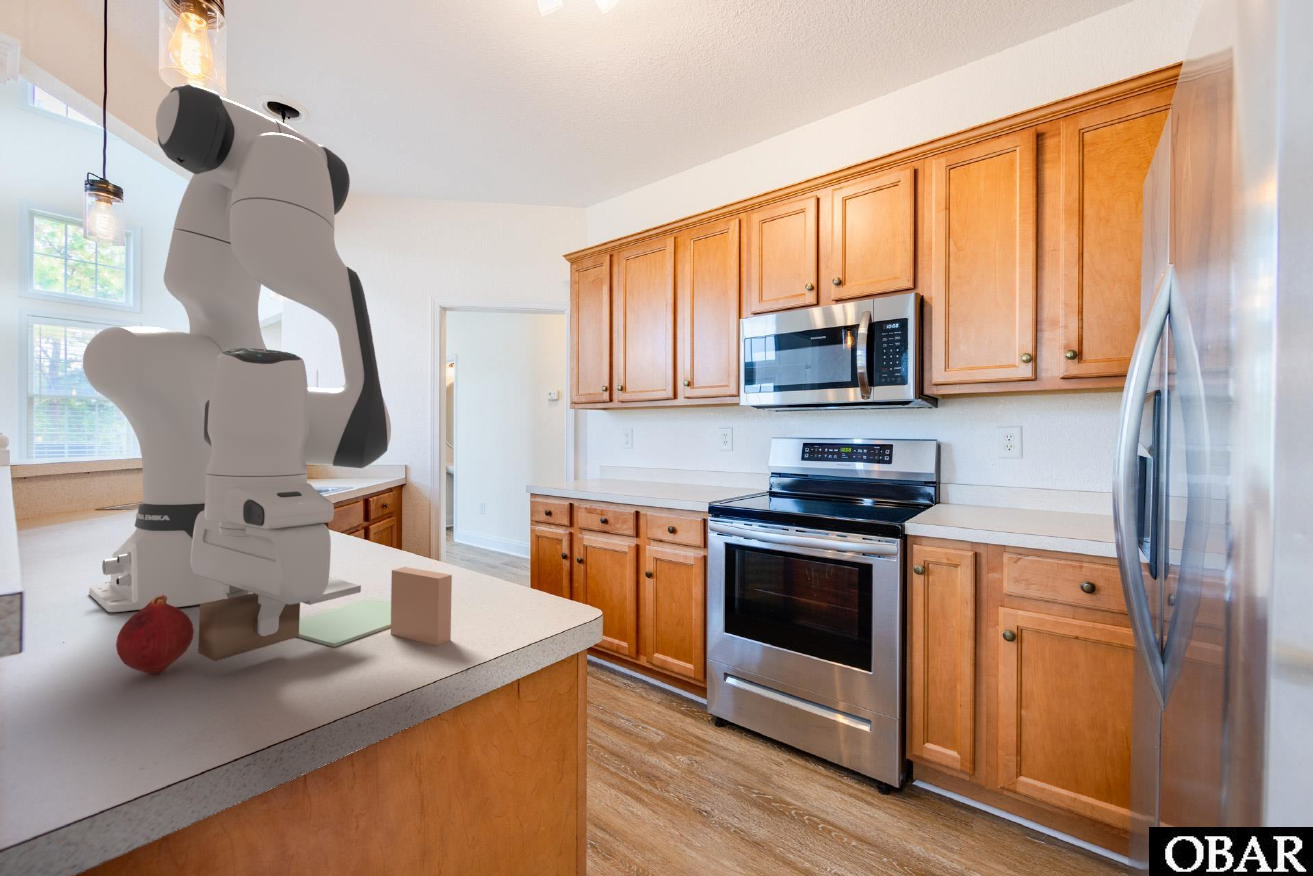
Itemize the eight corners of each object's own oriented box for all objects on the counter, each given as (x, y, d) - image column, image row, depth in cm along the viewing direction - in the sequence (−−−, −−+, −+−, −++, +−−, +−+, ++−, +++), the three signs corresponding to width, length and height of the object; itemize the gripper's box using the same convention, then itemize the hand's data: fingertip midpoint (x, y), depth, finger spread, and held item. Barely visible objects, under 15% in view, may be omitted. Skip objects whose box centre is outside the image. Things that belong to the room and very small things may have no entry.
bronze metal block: (189, 649, 57) (191, 601, 57) (323, 613, 70) (325, 573, 70) (224, 665, 54) (226, 614, 54) (359, 624, 67) (360, 583, 67)
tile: (390, 634, 69) (391, 570, 69) (404, 629, 71) (405, 566, 71) (437, 645, 66) (438, 578, 66) (451, 640, 68) (452, 574, 68)
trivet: (271, 629, 70) (271, 626, 70) (371, 600, 82) (371, 597, 82) (334, 647, 65) (334, 643, 65) (430, 613, 77) (430, 610, 77)
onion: (146, 690, 53) (147, 607, 53) (99, 683, 55) (101, 602, 54) (206, 665, 59) (208, 590, 59) (163, 660, 60) (164, 586, 60)
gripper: (174, 493, 61) (170, 617, 62) (279, 513, 52) (274, 660, 52) (239, 489, 67) (234, 603, 67) (344, 506, 57) (339, 639, 58)
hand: (253, 628), depth 60 cm, fingers closed on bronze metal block, 3 cm apart
